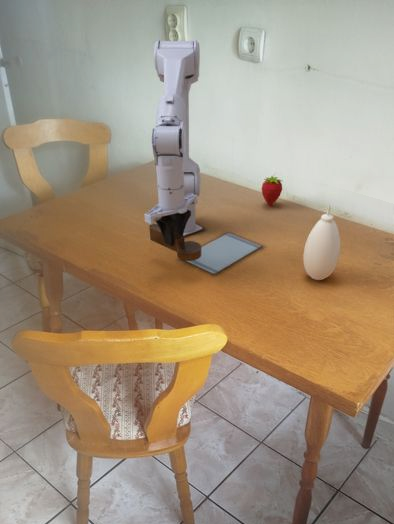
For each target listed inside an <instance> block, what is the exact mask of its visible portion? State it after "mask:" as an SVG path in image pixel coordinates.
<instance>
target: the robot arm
mask: <svg viewBox="0 0 394 524" xmlns="http://www.w3.org/2000/svg"><path fill="white" fill-rule="evenodd" d="M200 50H201V49H200V43H199V41H198V40H197V39H194V40H159V39H158V40H156V41H155V42H154V44H153V62H154V69H155V70H156V74H157V77H158V79H159V81H160V82H162V83H163V95H162V96H161V97H160V98H159V99H158V102H157V111H156V121H155V128H152V130H151V149H152V155H153V161H154V165H155V166H156V170H155V171H156V184H157V199H158V203H157V204H156V205H154V207H152V208H151V209H150V210H149V211H147V212H146V213H144V222H145V223H147V224H148V225H152V224H157V225H158V226H159V228H160V230H161V232H162V234H163V237H164V240H165V244H167V245H170V246H173V244H174V232H176V233H178V234H180V235H183V236H184V237H185V236H188V235H191V234H194V233H196V232H197V233H198V232H199V231H202V230H203V226H200V225H198V224H197V223H196V220H197V219H196V217H197V216H196V205H197V204H198V197H199V196H200V195H201V167H200V165H199V164H198V163H197V162H196V161H194V160H193V159H192V158H191V157H190V91H191V87H192V85H193V84H195V83H197V82H198V81H199V77H200V63H201V61H200V59H201V56H200V55H201V53H200V52H201V51H200Z"/></svg>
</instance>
